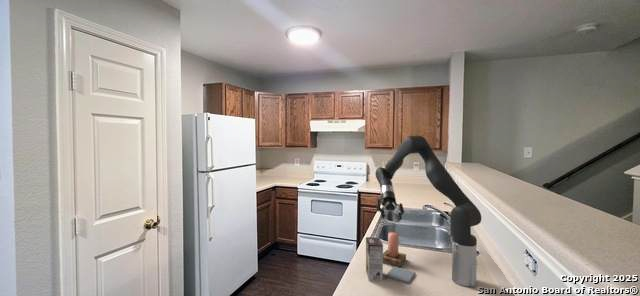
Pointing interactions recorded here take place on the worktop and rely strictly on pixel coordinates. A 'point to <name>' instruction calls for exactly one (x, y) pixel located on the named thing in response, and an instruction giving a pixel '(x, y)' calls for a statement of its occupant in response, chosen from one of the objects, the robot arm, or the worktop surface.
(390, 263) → the socket block
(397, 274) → the mat
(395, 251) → the plug
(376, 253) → the coffee box
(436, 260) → the worktop surface
